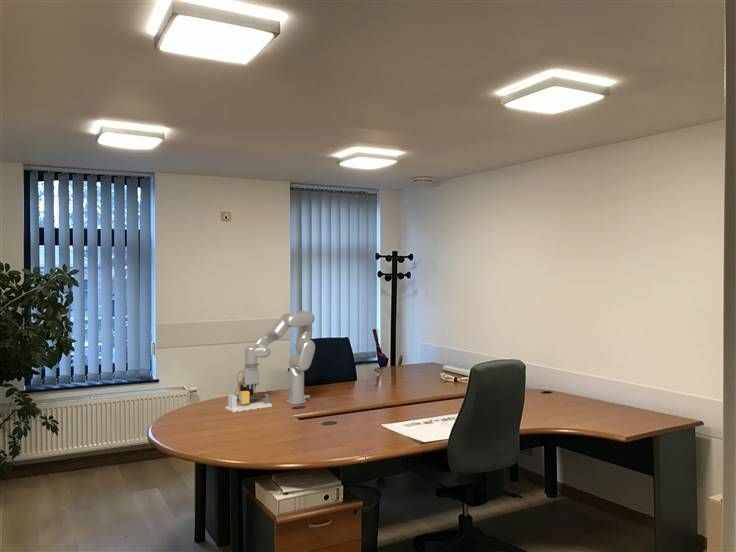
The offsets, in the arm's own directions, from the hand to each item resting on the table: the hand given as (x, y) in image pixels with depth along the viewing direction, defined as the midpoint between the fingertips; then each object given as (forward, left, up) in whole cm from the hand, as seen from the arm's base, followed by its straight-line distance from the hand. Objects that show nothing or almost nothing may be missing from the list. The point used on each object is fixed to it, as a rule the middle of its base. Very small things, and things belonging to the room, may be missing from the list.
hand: (250, 395), depth 365 cm
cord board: (+1, 0, -8) cm, 8 cm away
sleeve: (+5, 0, -4) cm, 6 cm away
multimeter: (-8, -21, -8) cm, 24 cm away
